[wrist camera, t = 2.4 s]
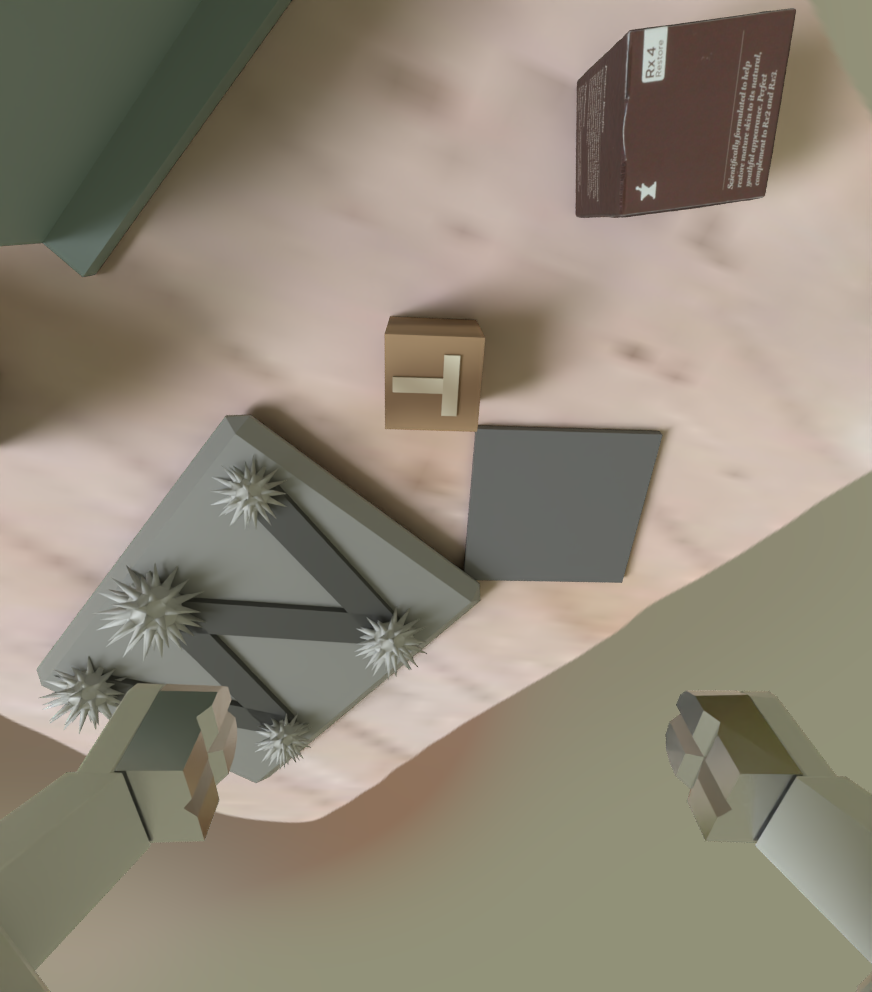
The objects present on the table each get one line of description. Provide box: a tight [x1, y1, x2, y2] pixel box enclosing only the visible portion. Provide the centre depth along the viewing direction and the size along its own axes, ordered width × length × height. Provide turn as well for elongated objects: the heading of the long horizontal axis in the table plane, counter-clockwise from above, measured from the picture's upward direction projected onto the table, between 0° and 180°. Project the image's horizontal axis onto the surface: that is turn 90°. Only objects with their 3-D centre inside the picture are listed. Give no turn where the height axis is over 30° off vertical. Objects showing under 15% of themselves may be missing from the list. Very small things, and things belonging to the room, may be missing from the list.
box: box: [576, 8, 796, 218], centre depth 23 cm, size 6×6×7 cm
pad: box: [464, 426, 662, 583], centre depth 36 cm, size 12×12×1 cm
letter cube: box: [385, 316, 485, 432], centre depth 29 cm, size 5×5×5 cm
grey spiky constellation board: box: [37, 415, 480, 783], centre depth 37 cm, size 30×22×7 cm
